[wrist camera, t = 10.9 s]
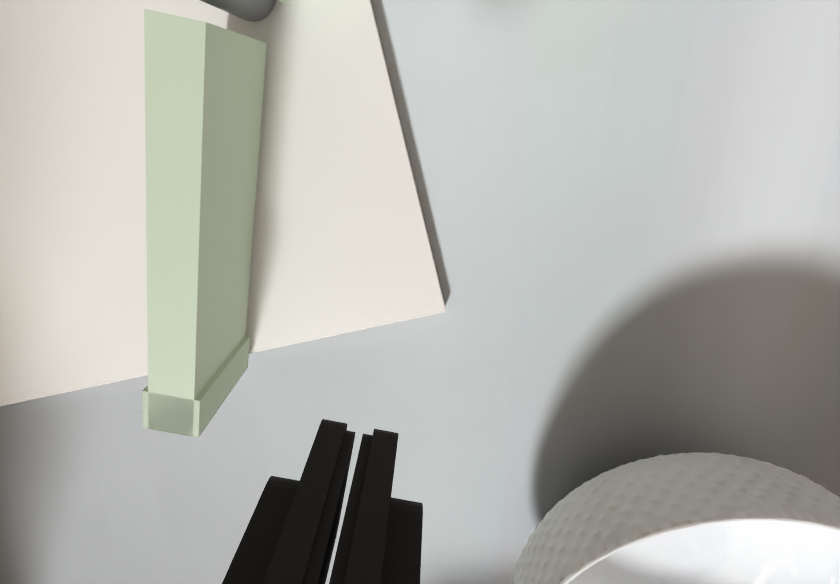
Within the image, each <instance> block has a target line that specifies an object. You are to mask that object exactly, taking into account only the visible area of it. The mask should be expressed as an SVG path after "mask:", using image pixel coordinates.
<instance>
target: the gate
mask: <svg viewBox="0 0 840 584" xmlns="http://www.w3.org/2000/svg"><path fill="white" fill-rule="evenodd" d="M144 47H145V143H146V239H147V334H148V386H147V387H146V388H145V389H144V390H143V391H142V402H143V428H147V429H152V430H158V431H164V432H169V433H175V434H181V435H187V436H192V437H198V438H199V436H200V435H201V433H202V432H203V430H204V429H205V428H206V426H207V425H208V423H209V422H210V420H211V419H212V418H213V416H214V415H215V413H216V412H217V410H218V409H219V407H220V406H221V405H222V403H223V402H224V400H225V399H226V397H227V396H228V395H229V393H230V392H231V390H232V389H233V387H234V386H235V385H236V383H237V382H238V380H239V379H240V377H241V376H242V374H243V373H244V372H245V370H246V369H247V367H248V355H249V342H250V337H249V336H245V335H246V322H247V308H248V295H249V281H250V268H251V254H252V240H253V227H254V213H255V200H256V186H257V172H258V159H259V145H260V132H261V118H262V105H263V91H264V77H265V64H266V50H267V43H264V42H262V41H259V40H256V39H253V38H250V37H247V36H244V35H242V34H239V33H236V32H233V31H230V30H227V29H225V28H222V27H219V26H216V25H213V24H210V23H207V22H204V21H199V20H195V19H190V18H185V17H181V16H176V15H172V14H167V13H163V12H158V11H153V10H149V9H144Z"/></svg>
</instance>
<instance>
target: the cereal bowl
mask: <svg viewBox="0 0 840 584" xmlns="http://www.w3.org/2000/svg"><path fill="white" fill-rule="evenodd" d="M513 584H840V497H839V496H837V495H836V494H834V493H832V492H830V491H828V490H827V489H826V488H825V487H824V486H822V485H820V484H817V483H815V482H813V481H811V480H810V479H808V478H807V477H805V476H804V475H800V474H797V473H794V472H793V471H791V470H789V469H787V468H783V467H778V466H776V465H774V464H772V463H770V462H765V461H759V460H756V459H753V458H750V457H741V456H737V455H733V454H721V453H717V452H715V453H711V452H710V453H704V452H692V453H678V454H669V455H658V456H655V457H650V458H647V459H639V460H637V461H635V462H629V463H627V464H625V465H620V466H618V467H617V468H614V469H610V470H609V471H607V472H603V473H601V474H600V475H598V476H597V477H594V478H592V479H591V480H590V481H587V482H584V483H583V484H582V485H581V486H579V487H578V488H575V489H574V490H573V491H572V492H569V494H568V495H566V496H565V498H564V499H562V500H560V501H558V503H557V504H555V506H554V507H553V508H552V509H551V510H550V511H549V512H548V513H546V515H545V517H544V519H543V520H542V521H541V522H540V523H539V524H538V526H537V527H536V529H535V531H534V533H533V534H532V535H531V536H530V537H529V539H528V542H527V545H526V546H525V547H524V549H523V550H522V554H521V557H520V559H519V561H518V563H517V568H516V572H515V575H514V580H513Z"/></svg>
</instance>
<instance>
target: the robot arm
mask: <svg viewBox="0 0 840 584" xmlns="http://www.w3.org/2000/svg"><path fill="white" fill-rule="evenodd" d="M346 429H347V424H346V423H340V422H335V421H330V420H324V419H323V420H322V421H321V424H320V426H319V429H318V432H317V435H316V438H315V440H314V443H313V446H312V449H311V451H310V454H309V457H308V460H307V462H306V465H305V468H304V471H303V473H302V476H301V479H300V481H297V480H291V479H286V478H280V477H275V476H271V477H270V478H269V480H268V482H267V484H266V486H265V488H264V490H263V493H262V495H261V497H260V499H259V502H258V504H257V506H256V508H255V511H254V513H253V515H252V517H251V520H250V522H249V524H248V526H247V529H246V531H245V533H244V535H243V538H242V540H241V542H240V544H239V547H238V549H237V551H236V553H235V556H234V558H233V560H232V562H231V565H230V567H229V569H228V571H227V574H226V576H225V578H224V581H223V583H222V584H325V582H326V578H327V573H328V569H329V565H330V560H331V556H332V552H333V548H334V543H335V539H336V535H337V530H338V525H339V520H340V514H341V509H342V503H343V498H344V493H345V487H346V482H347V476H348V471H349V465H350V460H351V454H352V449H353V443H354V438H355V432H351V431H346ZM397 441H398V433H394V432H389V431H383V430H378V429H374V432H373V436H372V435H367V434H363V436H362V441H361V445H360V450H359V454H358V459H357V463H356V467H355V472H354V476H353V481H352V485H351V490H350V494H349V498H348V503H347V507H346V512H345V516H344V521H343V525H342V529H341V534H340V538H339V543H338V547H337V552H336V556H335V561H334V565H333V569H332V574H331V578H330V583H329V584H420V567H421V543H422V518H423V506H422V503H418V502H413V501H407V500H402V499H396V498H391V491H392V482H393V474H394V466H395V458H396V450H397Z"/></svg>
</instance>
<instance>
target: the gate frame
mask: <svg viewBox="0 0 840 584" xmlns="http://www.w3.org/2000/svg"><path fill="white" fill-rule="evenodd" d="M144 9H149V10H153V11H158V12H163V13H167V14H172V15H176V16H181V17H185V18H190V19H195V20H199V21H204V22H207V23H210V24H213V25H216V26H219V27H222V28H225V29H227V30H230V31H233V32H236V33H239V34H242V35H244V36H247V37H250V38H253V39H256V40H259V41H262V42H264V43H267V50H266V64H265V77H264V91H263V105H262V118H261V132H260V145H259V159H258V172H257V186H256V200H255V213H254V227H253V240H252V254H251V268H250V281H249V295H248V308H247V322H246V335H245V336H249V337H250V342H249V354H250V353H254V352H259V351H264V350H268V349H273V348H278V347H283V346H287V345H292V344H297V343H301V342H306V341H311V340H316V339H320V338H325V337H330V336H334V335H339V334H344V333H349V332H353V331H358V330H363V329H368V328H372V327H377V326H382V325H386V324H391V323H396V322H401V321H405V320H410V319H415V318H419V317H424V316H429V315H434V314H438V313H443V312H446V308H445V303H444V299H443V295H442V291H441V287H440V282H439V278H438V274H437V270H436V266H435V262H434V258H433V254H432V250H431V245H430V241H429V237H428V233H427V229H426V225H425V221H424V217H423V213H422V209H421V204H420V200H419V196H418V192H417V188H416V184H415V180H414V176H413V172H412V168H411V163H410V159H409V155H408V151H407V147H406V143H405V139H404V135H403V131H402V126H401V122H400V118H399V114H398V110H397V106H396V102H395V98H394V94H393V90H392V85H391V81H390V77H389V73H388V69H387V65H386V61H385V57H384V53H383V48H382V44H381V40H380V36H379V32H378V28H377V24H376V20H375V16H374V12H373V7H372V3H371V0H0V406H4V405H9V404H14V403H18V402H23V401H28V400H33V399H37V398H42V397H47V396H51V395H56V394H61V393H66V392H70V391H75V390H80V389H84V388H89V387H94V386H99V385H103V384H108V383H113V382H117V381H122V380H127V379H132V378H136V377H141V376H146V375H148V334H147V239H146V143H145V47H144Z"/></svg>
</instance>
